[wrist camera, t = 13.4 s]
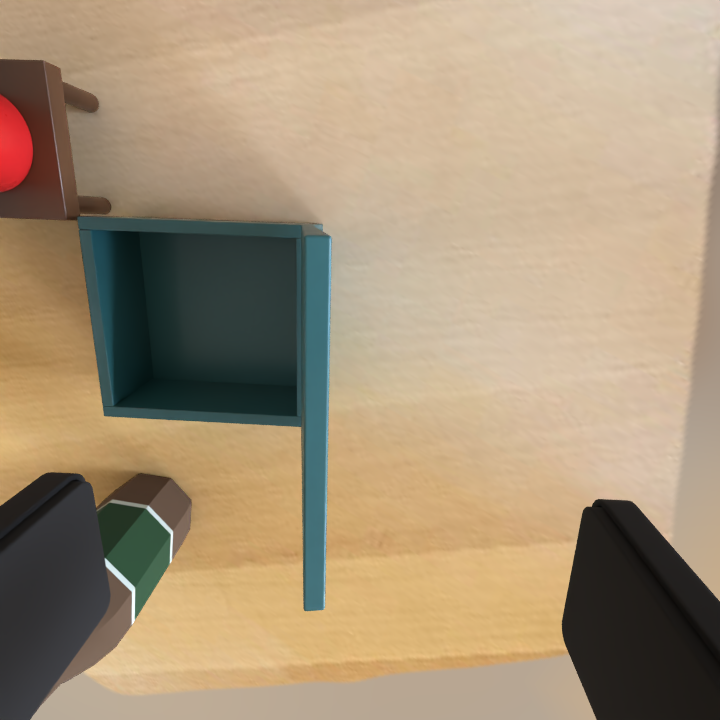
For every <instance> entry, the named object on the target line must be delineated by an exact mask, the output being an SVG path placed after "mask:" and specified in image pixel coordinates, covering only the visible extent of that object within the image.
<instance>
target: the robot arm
mask: <svg viewBox="0 0 720 720" xmlns="http://www.w3.org/2000/svg"><path fill="white" fill-rule="evenodd" d="M110 597H111V593H110V587H109V581H108V575H107V569H106V563H105V557H104V552H103V546H102V540H101V534H100V528H99V523H98V517H97V511H96V505H95V499H94V493H93V489H92V486H91V484H90V483H88V482H86V481H85V479H84V477H83V476H82V475H80V474H74V473H54V472H51V473H46V474H44V475H42V476H40V477H39V478H38V479H36V480H35V481H34V482H32V483H31V484H30V485H28V486H27V487H26V488H24V489H23V490H22V491H20V492H19V493H18V494H16V495H15V496H13V497H12V498H11V499H9V500H8V501H7V502H5V503H4V504H3V505H1V506H0V720H30V719H31V718H32V716H33V715H34V713H35V712H36V711H37V709H38V708H39V706H40V705H41V704H42V702H43V701H44V699H45V698H46V697H47V695H48V694H49V692H50V691H51V690H52V688H53V687H54V685H55V684H56V683H57V681H58V680H59V678H60V677H61V676H62V674H63V673H64V671H65V670H66V669H67V667H68V666H69V664H70V663H71V661H72V660H73V659H74V657H75V656H76V654H77V653H78V652H79V650H80V649H81V647H82V646H83V645H84V643H85V642H86V640H87V639H88V638H89V636H90V635H91V633H92V632H93V631H94V629H95V628H96V626H97V625H98V624H99V622H100V621H101V619H102V618H103V617H104V615H105V613H106V612H107V609H108V607H109V603H110ZM562 633H563V638H564V642H565V645H566V647H567V650H568V652H569V655H570V657H571V659H572V662H573V664H574V666H575V669H576V671H577V674H578V676H579V678H580V681H581V683H582V686H583V688H584V690H585V693H586V695H587V697H588V700H589V702H590V705H591V707H592V709H593V712H594V714H595V716H596V719H597V720H720V601H719V600H718V599H717V598H716V597H715V596H714V594H713V593H712V592H711V591H710V590H709V589H708V588H707V586H706V585H705V584H704V583H703V582H702V581H701V579H700V578H699V577H698V576H697V575H696V574H695V573H694V572H693V570H692V569H691V568H690V567H689V566H688V565H687V563H686V562H685V561H684V560H683V559H682V558H681V556H680V555H679V554H678V553H677V552H676V551H675V549H674V548H673V547H672V546H671V545H670V544H669V543H668V541H667V540H666V539H665V538H664V537H663V536H662V535H661V533H660V532H659V531H658V530H657V529H656V528H655V526H654V525H653V524H652V523H651V522H650V521H649V520H648V518H647V517H646V516H645V515H644V514H643V513H642V512H641V510H640V509H639V508H638V507H637V506H636V505H635V504H634V503H633V502H631V501H625V500H605V499H598V500H595V502H594V503H593V505H592V507H586V508H585V509H584V510H583V513H582V518H581V524H580V529H579V534H578V539H577V545H576V550H575V555H574V561H573V566H572V571H571V576H570V582H569V587H568V592H567V598H566V603H565V608H564V614H563V619H562Z"/></svg>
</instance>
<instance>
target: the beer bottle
mask: <svg viewBox="0 0 720 720" xmlns="http://www.w3.org/2000/svg"><path fill="white" fill-rule="evenodd" d="M191 503H192V502H191V499H190V498H189V497H188V496H187V495H186V494H185V493H184V492H183V491H182V490H181V489H180V487H179V486H178V485H177V484H176V483H175V482H174V481H173V480H172V479H171V478H165V477H159V476H153V475H147V474H138V475H136V476H135V477H133V478H132V479H131V480H129V481H128V482H126V483H125V484H123V485H122V486H121V487H119V488H118V489H116V490H115V491H114V492H113V493H112V494H110V495H109V496H108V497H107V498H106V499H105V500H104V501H103V502H102V503H101V504H100V505H99V506H98V507H97V508H96V511H97V517H98V523H99V528H100V534H101V540H102V546H103V552H104V557H105V563H106V569H107V575H108V581H109V587H110V593H111V597H110V603H109V607H108V609H107V612H106V613H105V615H104V617H103V618H102V619H101V621H100V622H99V624H98V625H97V626H96V628H95V629H94V631H93V632H92V633H91V635H90V636H89V638H88V639H87V640H86V642H85V643H84V645H83V646H82V647H81V649H80V650H79V652H78V653H77V654H76V656H75V657H74V659H73V660H72V661H71V663H70V664H69V666H68V667H67V669H66V670H65V671H64V673H63V674H62V676H61V677H60V678H59V680H58V681H57V683H56V684H55V685H54V687H53V688H52V690H51V691H50V692H49V694H48V695H47V697H46V698H45V699H44V701H45V700H46V699H47V698H48V697H49V696H50V695H51V694H52V693H53V692H54V691H55V690H56V689H57V687H58V686H59V685H60V684H62V683H64V682H66V681H68V680H70V679H72V678H73V677H75V676H77V675H78V674H80V673H82V672H83V671H85V670H87V669H88V668H90V667H92V666H93V665H95V664H96V663H97V662H98V661H100V660H101V659H102V658H103V657H104V656H106V655H107V654H108V653H109V652H110V651H112V650H113V649H114V648H115V647H116V646H117V645H118V643H119V642H120V641H121V639H122V638H123V637H124V635H125V634H126V632H127V631H128V630H129V628H130V627H131V626H132V624H133V622H134V621H135V619H136V618H137V616H138V614H139V613H140V611H141V609H142V608H143V606H144V605H145V603H146V601H147V600H148V598H149V597H150V595H151V593H152V592H153V590H154V588H155V587H156V585H157V584H158V582H159V580H160V579H161V577H162V576H163V574H164V572H165V571H166V569H167V567H168V566H169V564H170V563H171V561H172V559H173V558H174V556H175V555H176V553H177V551H178V550H179V548H180V546H181V545H182V543H183V541H184V540H185V538H186V536H187V534H188V532H189V530H190V520H191ZM44 701H43V702H42V703H44ZM41 705H42V704H41ZM41 705H40V706H41ZM40 706H39V707H40ZM37 710H38V709H37Z"/></svg>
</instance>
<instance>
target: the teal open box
mask: <svg viewBox="0 0 720 720" xmlns="http://www.w3.org/2000/svg"><path fill="white" fill-rule="evenodd" d="M77 220H78V228H79V229H80V230H79V236H80V243H81V250H82V258H83V265H84V272H85V279H86V287H87V294H88V301H89V309H90V316H91V323H92V330H93V338H94V345H95V352H96V360H97V367H98V374H99V382H100V389H101V396H102V403H103V411H104V416H111V417H129V418H147V419H166V420H184V421H203V422H221V423H240V424H258V425H276V426H295V427H301V226H302V225H313V226H315V227H316V228H318V229H320V230H321V231H323V225H322V224H308V223H282V222H256V221H230V220H204V219H178V218H152V217H108V216H78V217H77Z"/></svg>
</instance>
